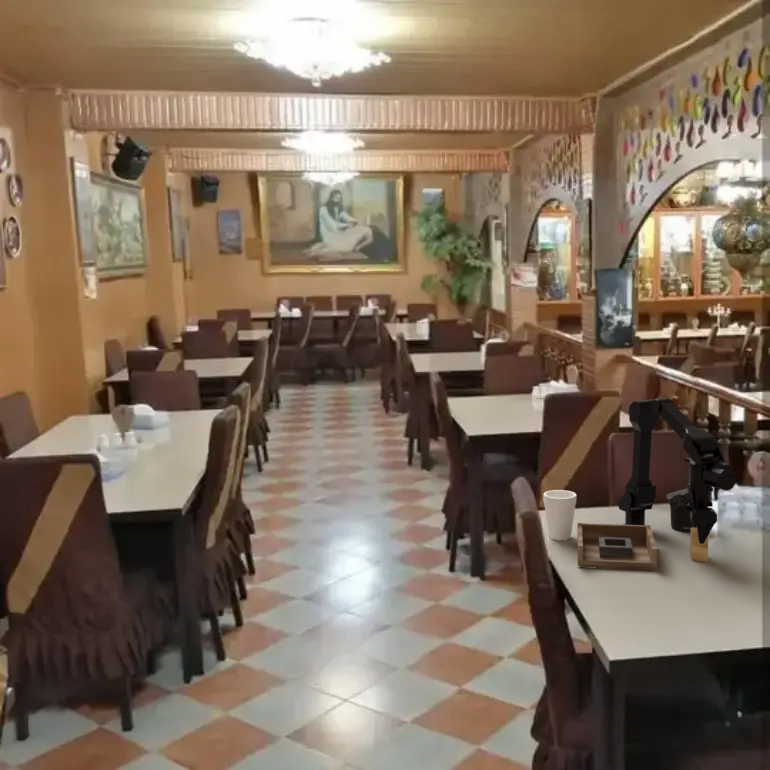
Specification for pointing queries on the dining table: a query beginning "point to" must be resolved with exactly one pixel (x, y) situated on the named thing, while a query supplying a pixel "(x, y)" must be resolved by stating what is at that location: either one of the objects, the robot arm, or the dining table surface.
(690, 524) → the pen holder
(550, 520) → the foam cup
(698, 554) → the wooden block
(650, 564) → the inlet box
